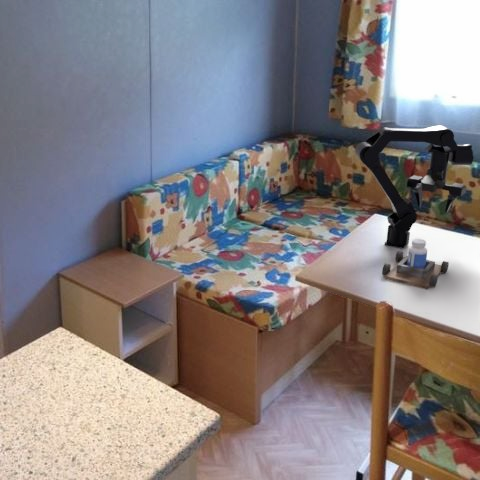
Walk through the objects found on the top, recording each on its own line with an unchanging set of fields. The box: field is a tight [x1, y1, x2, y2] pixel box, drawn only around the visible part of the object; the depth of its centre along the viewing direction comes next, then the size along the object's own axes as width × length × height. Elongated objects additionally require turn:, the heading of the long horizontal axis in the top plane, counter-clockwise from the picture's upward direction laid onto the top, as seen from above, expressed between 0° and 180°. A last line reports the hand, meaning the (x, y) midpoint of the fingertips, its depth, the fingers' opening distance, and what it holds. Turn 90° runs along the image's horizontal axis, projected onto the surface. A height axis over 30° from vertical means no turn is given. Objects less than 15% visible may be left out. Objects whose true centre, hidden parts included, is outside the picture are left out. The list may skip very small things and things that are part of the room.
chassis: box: [381, 250, 450, 290], centre depth 207 cm, size 16×18×4 cm
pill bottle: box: [407, 238, 428, 269], centre depth 205 cm, size 6×5×10 cm
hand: (432, 210), depth 227 cm, fingers open, 9 cm apart
